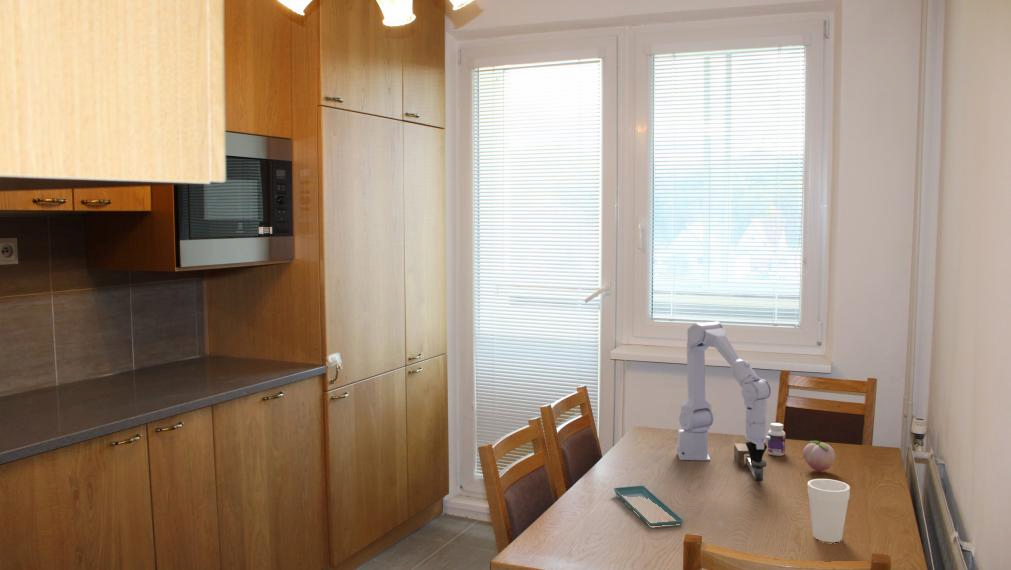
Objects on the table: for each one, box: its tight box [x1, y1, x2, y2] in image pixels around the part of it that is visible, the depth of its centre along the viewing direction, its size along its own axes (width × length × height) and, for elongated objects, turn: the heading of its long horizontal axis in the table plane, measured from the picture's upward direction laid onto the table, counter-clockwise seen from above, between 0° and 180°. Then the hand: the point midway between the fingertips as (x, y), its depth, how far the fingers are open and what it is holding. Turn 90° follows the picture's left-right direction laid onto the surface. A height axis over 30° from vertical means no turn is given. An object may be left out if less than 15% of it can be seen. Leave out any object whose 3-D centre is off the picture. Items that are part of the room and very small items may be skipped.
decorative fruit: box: [802, 439, 836, 473], centre depth 244 cm, size 9×8×10 cm
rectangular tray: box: [613, 485, 684, 526], centre depth 215 cm, size 26×9×2 cm, turn 13°
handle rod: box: [745, 455, 767, 483], centre depth 240 cm, size 4×18×6 cm, turn 173°
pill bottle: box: [767, 422, 786, 457], centre depth 263 cm, size 5×5×10 cm
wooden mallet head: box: [733, 443, 749, 468], centre depth 254 cm, size 7×8×5 cm
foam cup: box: [806, 478, 851, 542], centre depth 194 cm, size 10×9×13 cm
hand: (755, 467), depth 239 cm, fingers closed, pressing on handle rod
